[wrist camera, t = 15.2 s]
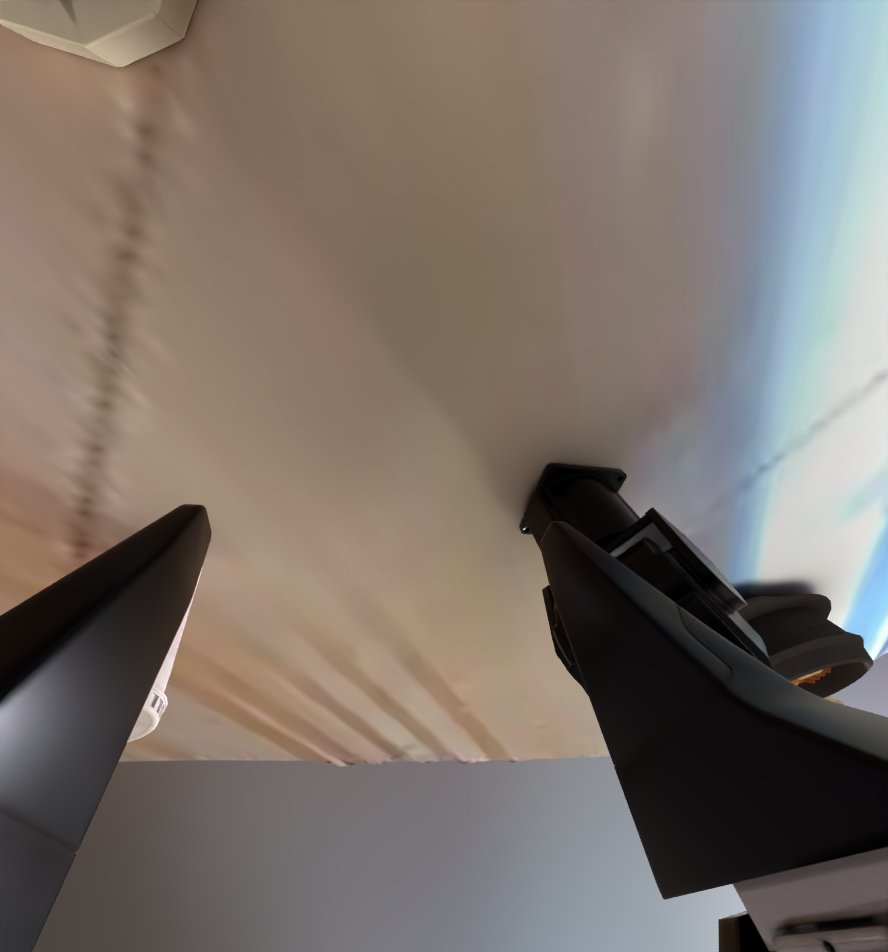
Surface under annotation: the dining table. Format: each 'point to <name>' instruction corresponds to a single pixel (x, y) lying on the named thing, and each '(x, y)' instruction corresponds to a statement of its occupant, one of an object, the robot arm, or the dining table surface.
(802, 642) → the casserole
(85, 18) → the ring stack
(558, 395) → the dining table surface
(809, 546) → the dining table surface
